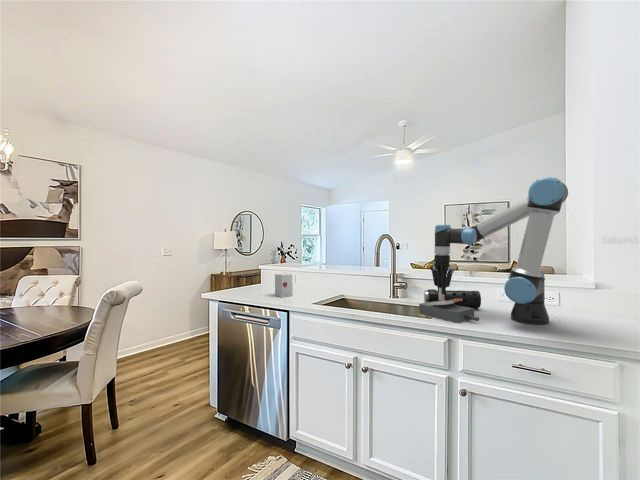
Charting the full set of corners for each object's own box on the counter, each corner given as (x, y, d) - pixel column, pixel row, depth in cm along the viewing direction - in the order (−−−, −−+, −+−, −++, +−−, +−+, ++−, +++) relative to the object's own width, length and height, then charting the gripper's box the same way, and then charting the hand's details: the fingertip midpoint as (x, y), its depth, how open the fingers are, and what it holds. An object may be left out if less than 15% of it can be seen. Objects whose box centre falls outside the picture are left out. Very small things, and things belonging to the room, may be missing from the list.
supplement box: (281, 297, 214) (281, 275, 214) (274, 295, 221) (274, 274, 221) (293, 296, 220) (292, 274, 220) (285, 294, 227) (285, 272, 227)
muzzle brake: (481, 311, 170) (481, 292, 170) (425, 309, 176) (425, 290, 176) (476, 307, 179) (476, 289, 179) (423, 306, 185) (423, 287, 185)
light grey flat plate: (454, 303, 156) (453, 300, 157) (446, 304, 153) (445, 301, 153) (437, 303, 165) (436, 301, 165) (429, 305, 161) (428, 302, 162)
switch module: (486, 321, 150) (486, 309, 150) (469, 326, 143) (469, 313, 143) (435, 310, 174) (435, 299, 174) (419, 313, 167) (419, 302, 167)
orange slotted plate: (462, 300, 160) (462, 297, 160) (455, 302, 157) (454, 299, 157) (445, 302, 168) (445, 300, 169) (438, 304, 165) (437, 301, 165)
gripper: (457, 255, 163) (457, 301, 164) (436, 253, 174) (435, 297, 174) (448, 255, 159) (447, 303, 160) (427, 254, 170) (426, 298, 170)
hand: (441, 300), depth 167 cm, fingers closed
